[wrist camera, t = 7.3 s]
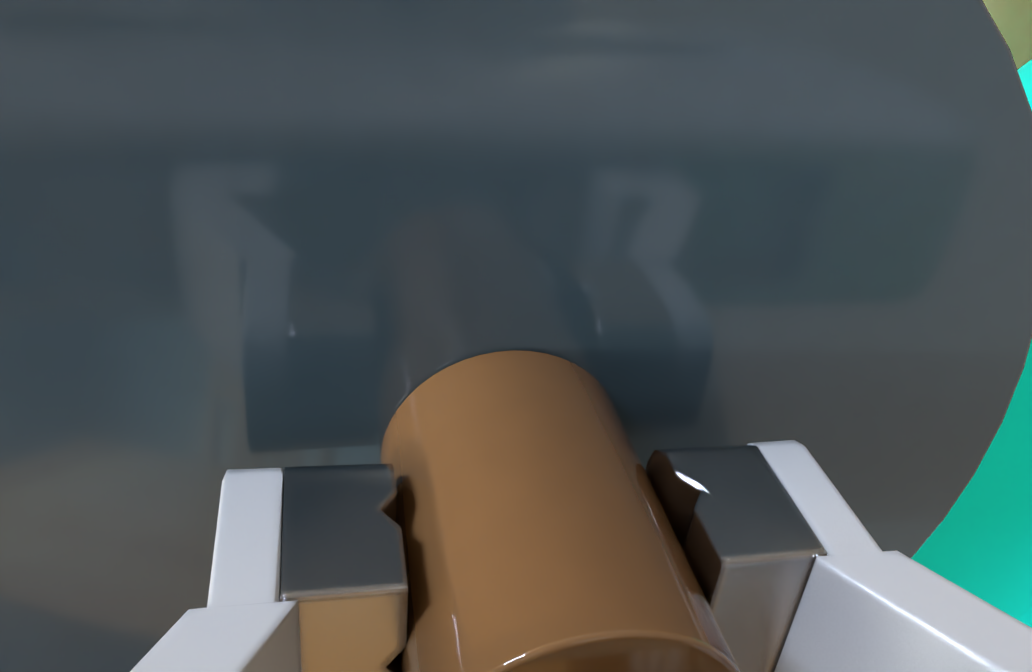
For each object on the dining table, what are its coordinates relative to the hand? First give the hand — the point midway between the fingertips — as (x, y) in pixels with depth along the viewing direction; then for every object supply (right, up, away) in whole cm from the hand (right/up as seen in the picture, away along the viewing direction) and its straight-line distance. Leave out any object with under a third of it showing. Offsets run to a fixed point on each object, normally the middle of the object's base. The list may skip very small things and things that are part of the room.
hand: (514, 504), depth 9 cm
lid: (0, +1, +1) cm, 2 cm away
